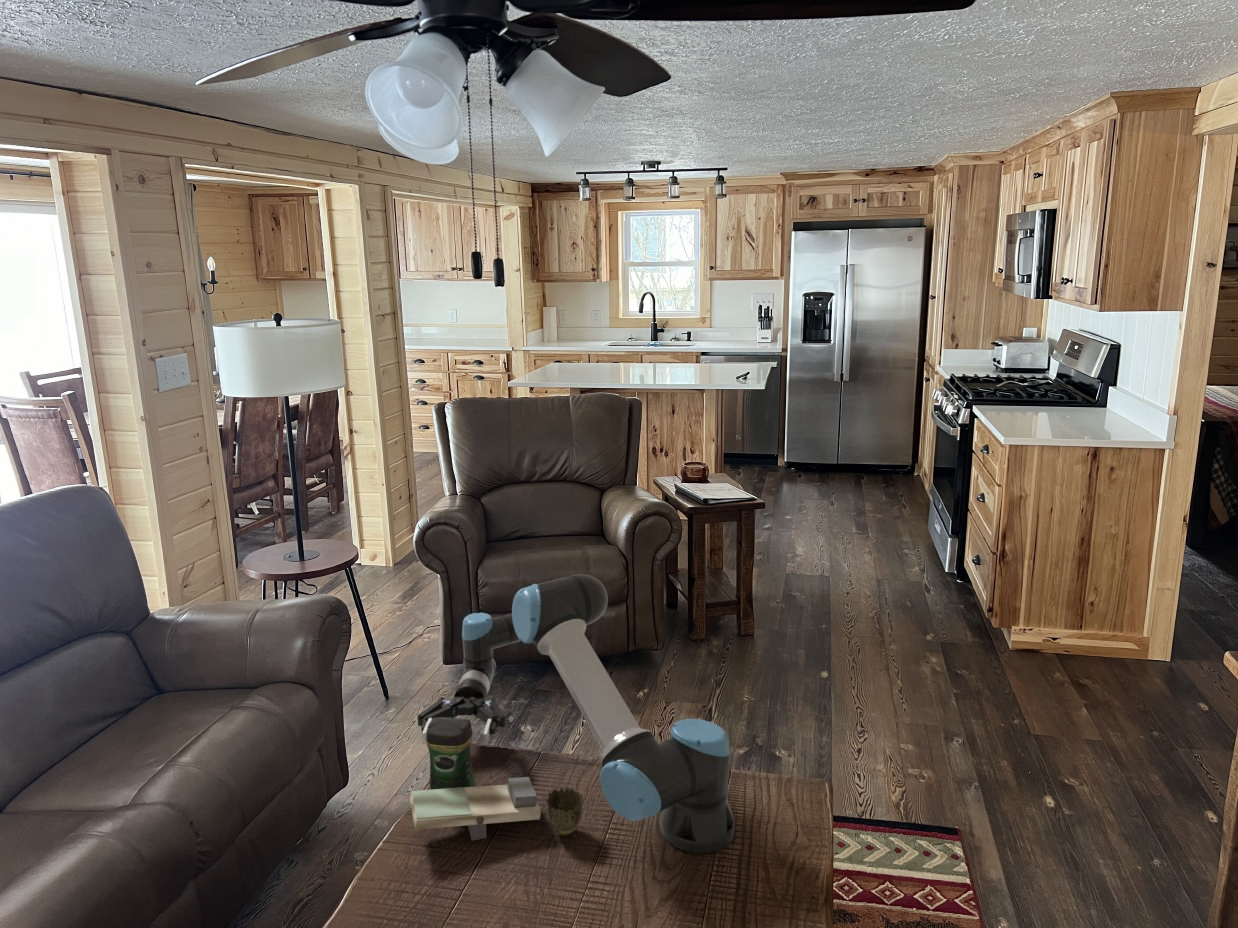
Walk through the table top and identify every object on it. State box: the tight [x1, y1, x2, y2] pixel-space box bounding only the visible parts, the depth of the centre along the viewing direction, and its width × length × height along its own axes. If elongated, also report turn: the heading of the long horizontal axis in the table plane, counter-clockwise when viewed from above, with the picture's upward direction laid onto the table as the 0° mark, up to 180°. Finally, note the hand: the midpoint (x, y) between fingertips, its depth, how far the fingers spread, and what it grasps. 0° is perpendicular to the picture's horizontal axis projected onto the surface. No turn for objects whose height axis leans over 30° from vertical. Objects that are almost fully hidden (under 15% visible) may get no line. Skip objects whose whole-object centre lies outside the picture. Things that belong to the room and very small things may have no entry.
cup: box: [546, 787, 584, 837], centre depth 175 cm, size 8×7×8 cm
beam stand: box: [466, 824, 487, 842], centre depth 176 cm, size 7×3×4 cm, turn 19°
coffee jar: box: [425, 717, 476, 790], centre depth 185 cm, size 10×8×19 cm
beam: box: [409, 776, 542, 830], centre depth 175 cm, size 11×25×4 cm, turn 109°
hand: (454, 738), depth 191 cm, fingers open, 13 cm apart
